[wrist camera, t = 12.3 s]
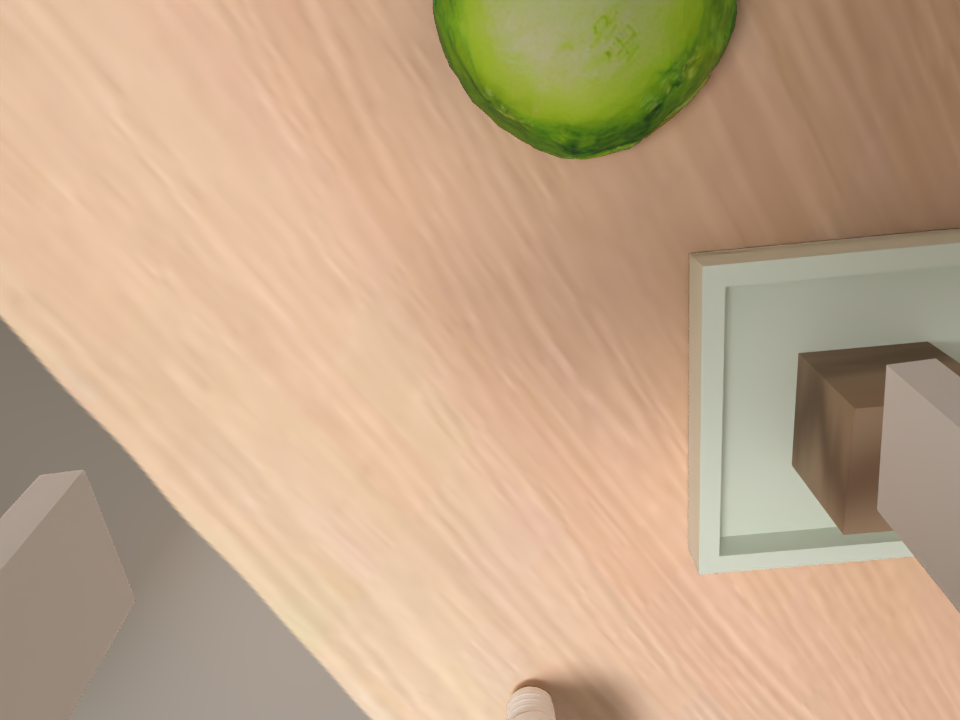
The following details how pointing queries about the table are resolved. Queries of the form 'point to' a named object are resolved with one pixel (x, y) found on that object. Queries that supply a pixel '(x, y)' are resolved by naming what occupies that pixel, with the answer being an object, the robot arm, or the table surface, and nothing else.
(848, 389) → the cube
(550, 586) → the table surface
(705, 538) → the tray
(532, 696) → the lightbulb
